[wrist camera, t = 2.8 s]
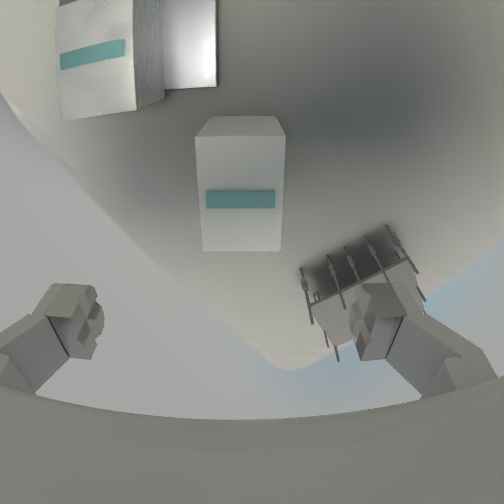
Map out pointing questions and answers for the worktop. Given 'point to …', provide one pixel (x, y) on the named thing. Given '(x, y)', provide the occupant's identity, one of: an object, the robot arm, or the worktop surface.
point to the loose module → (241, 183)
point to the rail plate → (132, 52)
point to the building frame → (339, 303)
